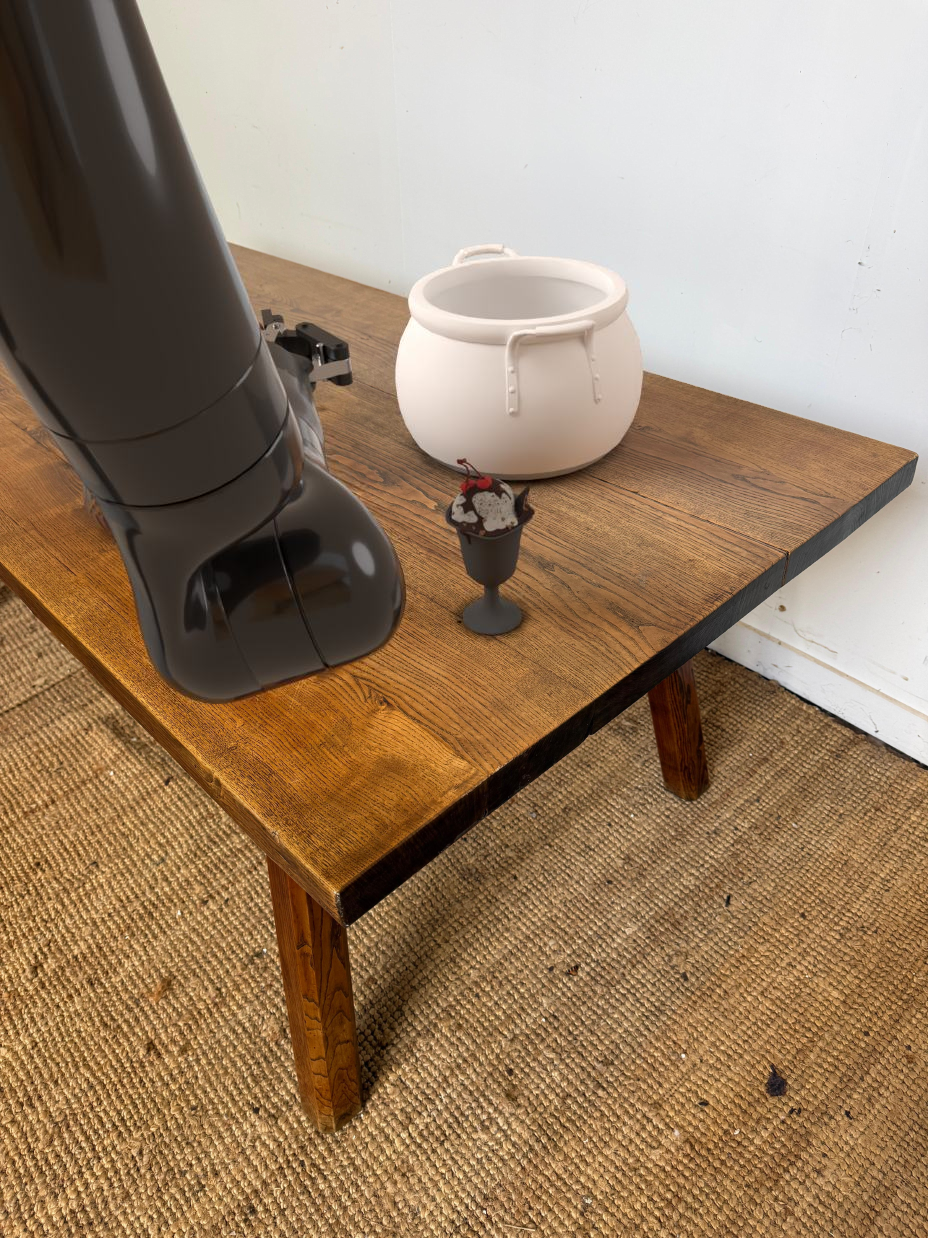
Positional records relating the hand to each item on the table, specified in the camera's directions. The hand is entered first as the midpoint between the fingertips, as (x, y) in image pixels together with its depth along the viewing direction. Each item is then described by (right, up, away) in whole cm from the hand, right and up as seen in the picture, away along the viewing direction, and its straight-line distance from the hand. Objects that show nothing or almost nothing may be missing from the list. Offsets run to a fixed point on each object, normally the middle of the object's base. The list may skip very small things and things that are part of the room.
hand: (238, 327), depth 62 cm
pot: (+22, 0, +38) cm, 44 cm away
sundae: (+18, -20, +12) cm, 30 cm away
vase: (-17, -11, +26) cm, 33 cm away
